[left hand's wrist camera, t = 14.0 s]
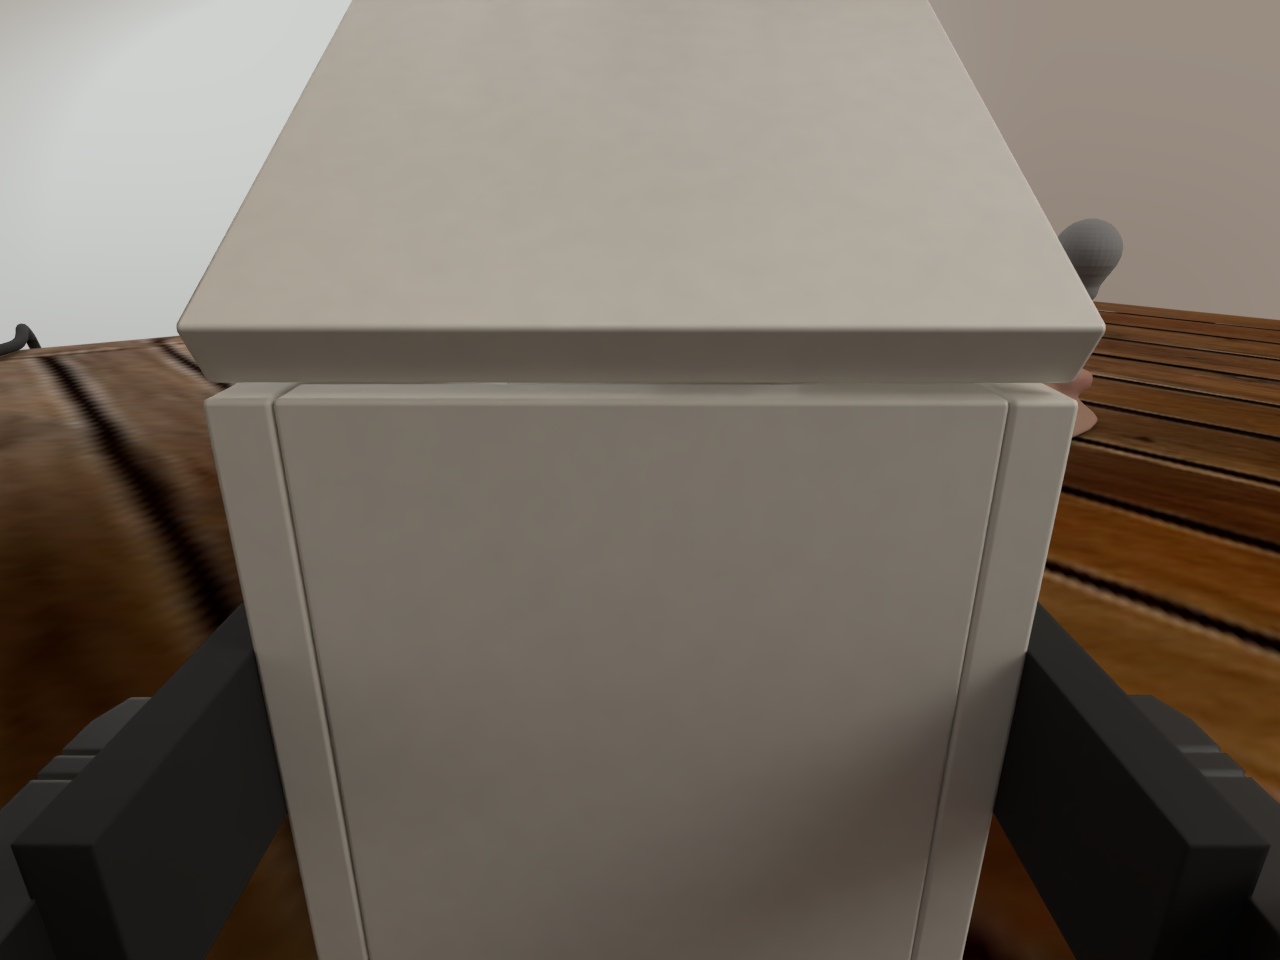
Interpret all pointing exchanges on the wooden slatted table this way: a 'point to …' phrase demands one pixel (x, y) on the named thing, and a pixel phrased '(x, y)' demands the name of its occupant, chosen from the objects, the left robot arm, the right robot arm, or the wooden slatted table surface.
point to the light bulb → (1092, 251)
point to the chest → (640, 656)
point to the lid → (640, 206)
